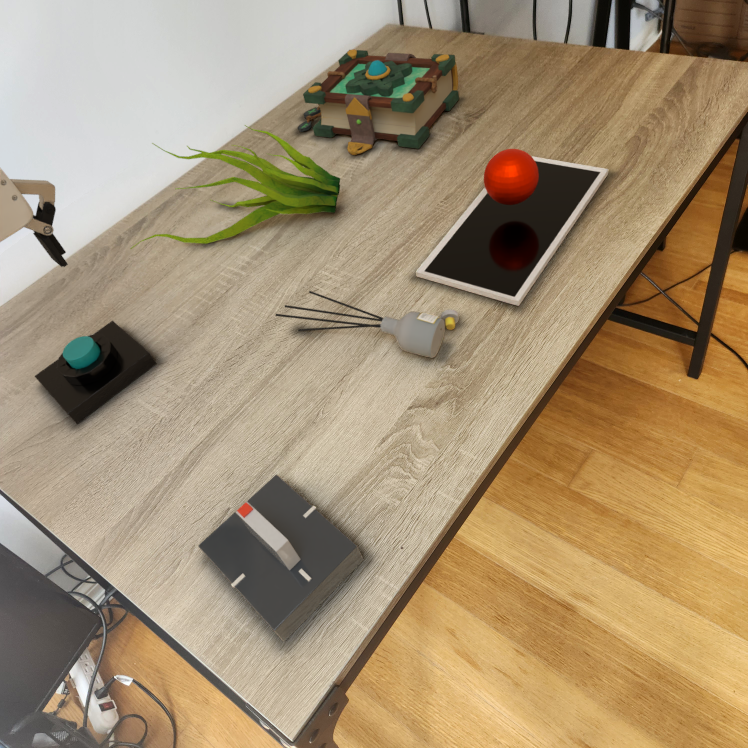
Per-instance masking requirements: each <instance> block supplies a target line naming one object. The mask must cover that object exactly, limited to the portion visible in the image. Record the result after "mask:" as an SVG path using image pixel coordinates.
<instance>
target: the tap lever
mask: <svg viewBox="0 0 748 748" xmlns="http://www.w3.org/2000/svg"><path fill="white" fill-rule="evenodd" d="M245 502H246V501H245ZM245 502H244V503H245ZM244 503H243V504H242V505H241V506H240V507H239V508H238V509H237V510H235V512H236V514H237V515H238V516H239V518H240V519H241V520H242V522H243V523H244V524H245V526H246V527H247V528H248V530H249V531H250V532H251V533H252V534H253V535H254V536H255V537H256V538H257V539H258V540H259V541H260V542H261V543H262V544H263V545H264V546H265V547H266V548H267V549H268V550H269V551H270V552H271V553H272V554H273V555H274V556H275V557H276V558H277V559H278V560H279V561H280V562H281V563H282V564H283V565H284V566H285V567H286V568H287V569H288V570H291V569H292V568H293V567H294V566H295V565H296V564H297V563H298V562H299V561H300V560H301V559H300V557H299V556H298V554H297V553H296V551H295V550H294V548H293V547H292V545H291V544H290V542H289V541H288V539H287V538H286V537H285V536H283V535H282V534H281V533H280V532H279V531H278V530H277V529H276V528H275V527H274V526H273V525H272V524H271V523H270V522H269V521H268V520H266V519H265V518H264V517H263V516H262V515H261V514H260V513H259V512H258V511H257V510H256V509H255V508H254V507H253V506H252V505H251V504H249V503H248V502H246V503H245V504H244Z"/></svg>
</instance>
